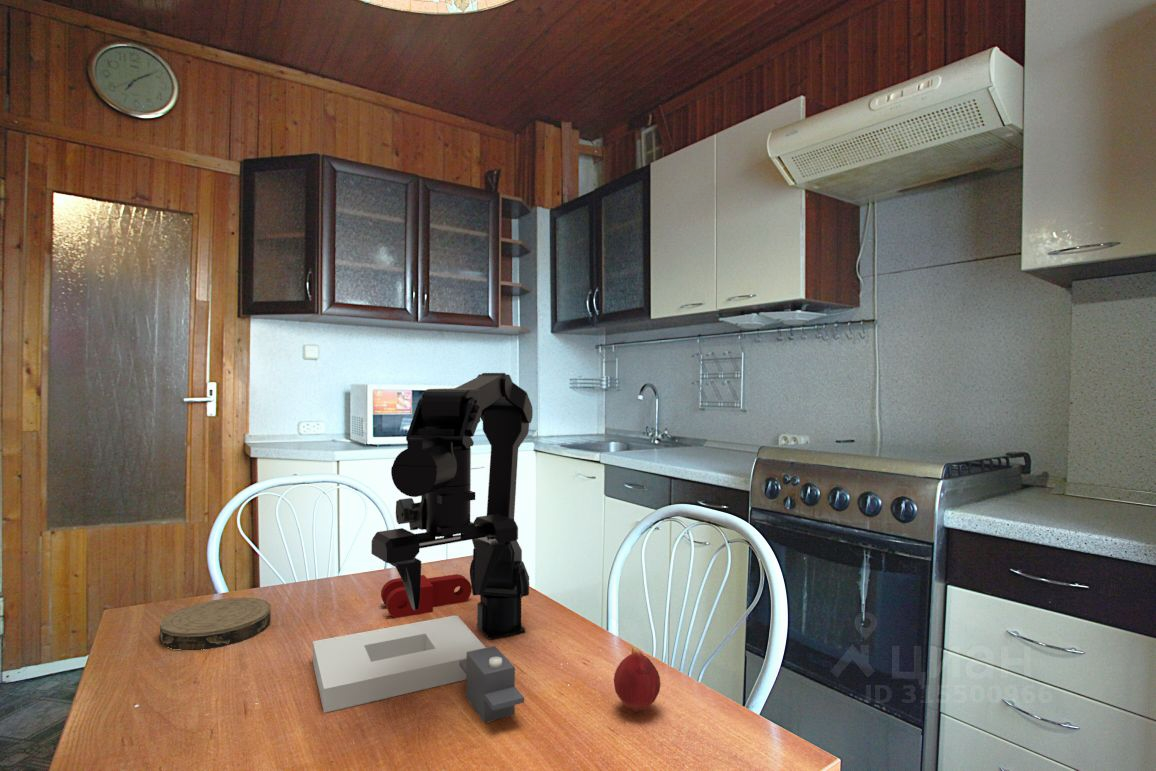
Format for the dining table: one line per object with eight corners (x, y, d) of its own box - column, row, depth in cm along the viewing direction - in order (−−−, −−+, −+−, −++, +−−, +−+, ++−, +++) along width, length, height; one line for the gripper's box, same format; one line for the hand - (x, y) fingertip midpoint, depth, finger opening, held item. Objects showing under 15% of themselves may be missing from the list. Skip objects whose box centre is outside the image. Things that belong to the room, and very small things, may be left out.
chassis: (456, 633, 100) (456, 615, 100) (490, 673, 86) (490, 652, 86) (312, 661, 90) (312, 641, 90) (323, 712, 76) (324, 689, 76)
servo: (459, 687, 82) (459, 637, 82) (487, 680, 84) (487, 632, 84) (492, 736, 71) (493, 678, 71) (524, 727, 73) (524, 670, 73)
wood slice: (260, 645, 96) (260, 626, 96) (143, 658, 91) (143, 638, 91) (278, 610, 111) (278, 593, 111) (179, 619, 106) (179, 602, 106)
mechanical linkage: (387, 620, 106) (387, 592, 106) (380, 607, 112) (381, 580, 112) (475, 606, 113) (475, 579, 113) (464, 594, 120) (464, 569, 120)
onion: (663, 703, 78) (664, 642, 78) (654, 727, 73) (655, 661, 73) (620, 696, 80) (620, 635, 80) (608, 718, 75) (608, 654, 75)
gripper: (480, 470, 92) (479, 573, 92) (356, 482, 80) (356, 600, 80) (520, 479, 83) (519, 592, 83) (388, 494, 72) (388, 626, 71)
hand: (448, 601), depth 80 cm, fingers open, 9 cm apart
